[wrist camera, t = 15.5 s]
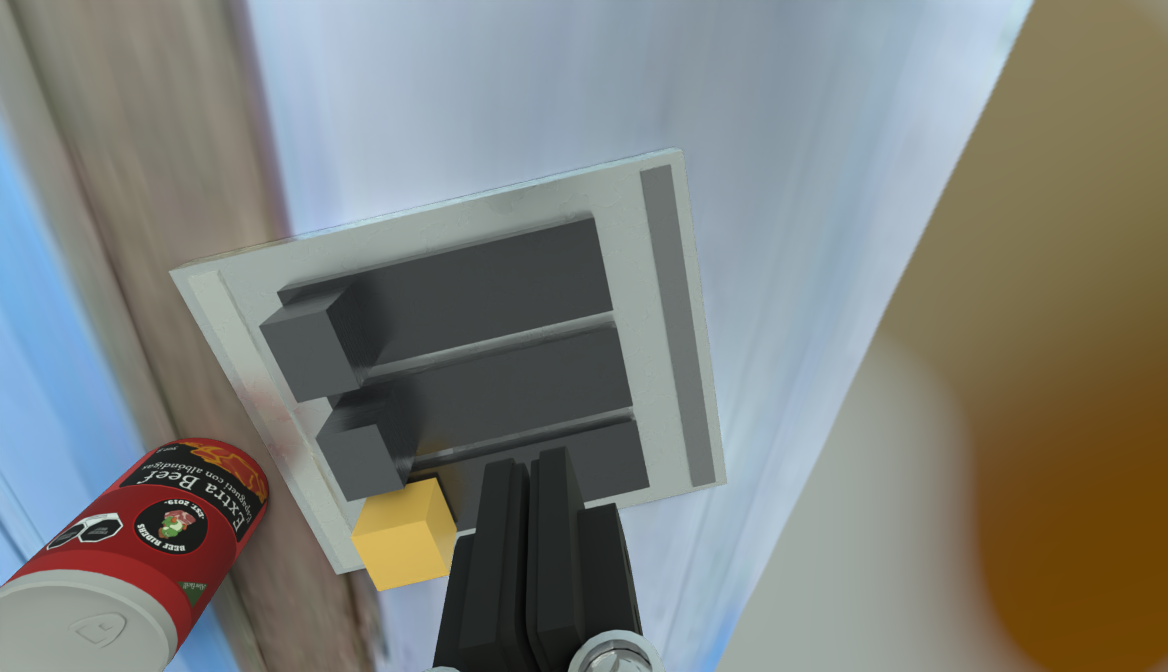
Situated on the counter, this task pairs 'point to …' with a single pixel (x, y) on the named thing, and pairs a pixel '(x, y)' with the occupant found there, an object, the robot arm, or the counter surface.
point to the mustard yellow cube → (406, 535)
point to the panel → (476, 345)
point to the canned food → (134, 564)
